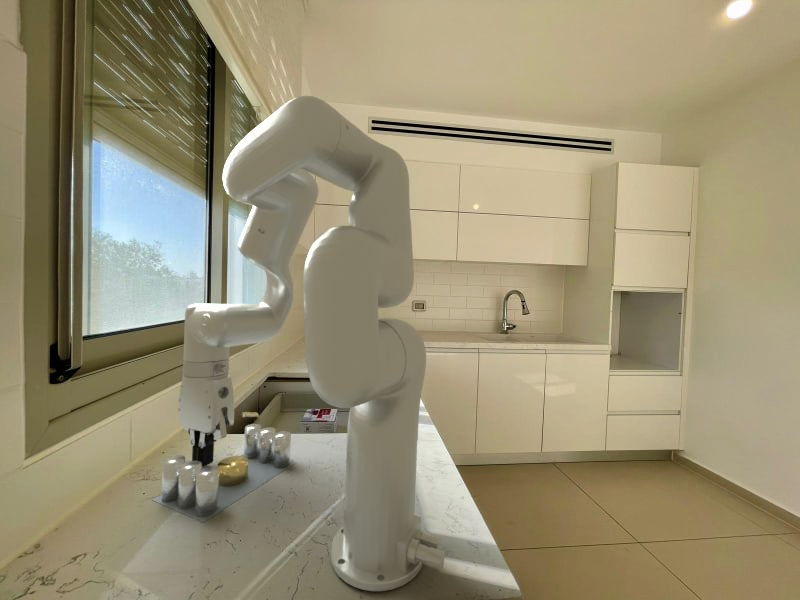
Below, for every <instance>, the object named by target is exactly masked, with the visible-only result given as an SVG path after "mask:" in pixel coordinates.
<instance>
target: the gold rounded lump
mask: <svg viewBox="0 0 800 600" xmlns="http://www.w3.org/2000/svg"><path fill="white" fill-rule="evenodd" d="M216 467H218V468H219V486H223V487H230V486H235V485H238V484H241V483H242V482H244V481H245V480H246V479H247V478H248V458H247V457H245V456H241V455H232V456H228V457H225V458H223V459H221V460H219V462H217V466H216Z"/></svg>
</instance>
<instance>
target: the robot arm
mask: <svg viewBox="0 0 800 600" xmlns="http://www.w3.org/2000/svg"><path fill="white" fill-rule="evenodd" d="M313 175H314V176H316V177H317V178H320V179H321V180H324V181H327V182H328V183H331V184H332V185H333V186H334V185H335V186H336V187H338V188H341V189H344V190H347V191H351V192H353V193H352V196H351V199H350V202H349V206H348V224H349V225H337V226H334V227H330V228H328V229H326V230H325V231H323V232H322V233H320V234H319V235H318V237H316V239H315V240H314V242H313V243H312V245H311V247H310V248H309V250H308V253H307V256H306V259H305V263H304V268H303V276H302V279H303V282H302V283H303V285H302V286H303V308H304V309H303V311H304V312H303V313H304V318H303V319H304V341H305V342H304V343H305V344H304V345H305V361H306V369H307V374H308V377H309V380H310V384H311V386H312V388H313V390H314V391H315V392H316V394H317V395H318V396H319V398H320V399H321V400H322V401H323V402H325V403H326V404H328V405H329V406H333V407H336V408H341V409H349V413H348V419H347V420H348V422H347V430H346V431H347V433H346V434H347V435H346V453H345V454H346V456H345V458H346V459H345V483H344V485H345V486H344V506H343V507H344V509H343V510H344V511H343V525H342V526H341V527H340V528H339V530H338V531H337V532H336V533H335V534H334V536H333V539H332V541H331V546H330V562H331V566H332V568H333V570H334V572H335V573H336V575H337V576H338V577H339V578H340V579H341V580H343V581H344V582H345V583H346V584H348V585H350V586H351V587H354V588H357V589H360V590H363V591H368V592H385V591H391V590H394V589H397V588H400V587H403V586H404V585H406V584H407V583H409V582H411V581H412V580H413V579H414V578H415V577H416V576H417V575H418V574H419V572H420V571H421V569H422V568H423V565H426V566H427V567H430V568H432V569H435V570H437V571H441V572H442V570H443V567H444V564H445V563H444V562H445V551H443V550H441V549H440V545H441V538H440V537H438V536H436V535H431V534H428V533H424V532H425V531H424V530H422V529H421V527H422V517H421V516H418V515H415V511H416V508H415V507H416V486H417V485H416V484H417V482H416V481H417V462H418V461H417V460H418V459H417V457H418V439H419V421H420V420H419V419H420V409H421V407H420V406H421V400H422V399H421V397H422V393H423V392H422V391H423V386H424V385H423V384H424V381H425V380H424V379H425V374H426V367H427V352H426V351H427V350H426V347H425V346H426V345H425V342H424V340H423V338H422V336H421V334H420V333H419V332H418V330H417V329H416V328H415V327H414V326H413V325H411V324H410V323H408V322H406V321H405V320H401V319H398V318H390V317H387V318H385V317H384V318H379V309H387V308H393V307H397V306H399V305H400V304H402V303H404V302H405V301H406V300H407V299H408V298H409V297H410V295H411V293H412V290H413V287H414V283H415V281H414V279H415V278H414V277H415V276H414V274H415V273H414V272H415V268H414V255H413V254H414V253H413V236H412V220H411V207H410V177H409V170H408V167H407V164H406V162H405V160H404V159H403V156H401V155H400V154H399V152H397V150H394V149H393V148H391V147H389V146H387V145H384V144H383V143H380V142H378V141H377V140H375V139H374V138H372V137H370V136H368V135H367V133H365V132H363V131H362V130H361V129H360V128H359V127H358V126H356V125H355V124H354V123H352V122H351V121H350V120H349V119H347V118H346V117H345V116H344V115H342V114H341V113H340V112H339V111H338V110H336V109H335V108H334V107H332V106H331V105H330V104H329V103H328V102H326V101H325V100H323V99H321V98H319V97H315V96H312V95H301V96H298V97H295V98H293V99H290V100H289V101H288V102H286V103H285V104H283V105H282V106H281V107H280V108H278V109H277V110H276V111H274V112H273V113H272V114H271V115H270V116H268V117H267V118H266V119H265V120H264V121H262V122H261V123H260V124H258V125H257V126H256V127H255V128H253V129H252V130H251V131H250V132H249V133H247V134H246V135H245V136H244V138H242V139H241V140H240V142H238V144H237V145H236V146H235V147H234V148H233V150H232V151H231V152H230V154H229V156H228V157H227V159H226V161H225V164H224V167H223V171H222V182H223V187H224V190H225V191H226V194H227V195H229V197H231V198H232V199H233V200H235V201H237V202H240V203H243V204H245V205H250V206H252V207H251V211H250V213H249V216H248V218H247V220H246V223H245V226H244V227H243V230H242V232H241V235H240V237H239V241H238V243H237V248H238V251H239V253H240V254H241V255H242V256H243V257H244V258H245V259H246V260H248V261H249V262H250V263H252V264H253V265H255V266H257V267H259V269H262V270H264V272H265V275H266V287H265V290H264V292H263V296H262V298H261V300H260V302H259V303H257V304H256V303H205V302H204V303H192V304H190V305H188V306H187V307H186V309H185V313H184V330H183V331H184V336H183V357H182V359H183V361H182V362H183V363H182V379H181V384H180V388H179V397H178V403H177V404H178V406H177V407H178V408H177V420H178V423H179V424H180V426H182V429H183V430H184V431H185V432H186V433H188V434H189V442H190V444H191V446H192V451H191V453H192V454H191V461H200V462H201V463H202V467H201V469H203V468H205V467H207V466H208V465H210V464H212V463H213V462H214V456H215V455H214V450H215V449H214V448H215V443H216V442H217V441H219V440H223V439H224V438H226V437H227V435H228V434H227V427H228V428H230V427H232V426H233V425H234V421H235V397H234V386H233V380H232V376H231V375H229V370H230V366H229V365H230V348H232V347H238V346H243V345H253V344H262V343H267V342H269V341H271V340H273V339H274V338H275V337H277V335H278V334H279V333H280V331H281V329H282V328H283V326H284V324H285V322H286V320H287V317H288V316H289V314H290V311H291V308H292V307H293V303H294V302H293V301H294V284H293V283H294V282H293V278H292V275H291V272H290V267H289V266H290V262H291V260H292V257H293V256H294V253H295V250H296V248H297V247H298V243H299V241H300V239H301V237H302V235H303V233H304V230H305V228H306V226H307V223H308V221H309V220H310V219H309V218H310V216H311V214H312V213H313V210H314V208H315V206H316V203H317V201H318V198H319V186H318V183H317V181H316V179H315V177H314V176H313Z"/></svg>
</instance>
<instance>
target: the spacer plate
mask: <svg viewBox="0 0 800 600" xmlns="http://www.w3.org/2000/svg"><path fill="white" fill-rule="evenodd" d="M240 456H244V453H243V454H240ZM258 458H259V456H258V457H256V458H253V459H248V478H247V479H246V480H245V481H244V482H242V483H241V484H238V485H235V486H230V487H223V486H218V509H217V511H216V512H215V513H213V514H211V515H209V516H205V517H198V516H196V515H195V507H192V508H189V509H179V508H178V500H175V501H172V502H163V501H162V500H161V497H162V494H161V495H159V496H156V497H154V498H152V499H151V501H153V502H155V503H157V504H160V505H162V506H164V507H167V508H168V509H171V510H172V511H175V512H178V513H180V514H182V515H184V516H187V517H189V518H192V519H194V520H196V521H198V522H200V523H206V522H207V521H208V520H209V519H211V518H213V517H214V516H216V515H218V514H219V513H220V512H222V511H223V510H225V509H227V508H228V507H230V506H231V505H233V504H235V503H236V502H237V501H239V500H241V499H243V498H244V497H245V496H247V495H249V494H250V493H252V492H253V491H255V490H256V489H258V488H260V487H261V486H263V485H264V484H266V483H267V482H269V481H270V480H272V479H274V478H275V477H277V476H278V475H280V474H281V473H282V472H284V471H286V470H288V469H289V468H291V467H292V466H293V465H295V464H296V463H297V461H294V460H290V464H289V466H287V467H285V468H275V467H274V460H273V461H272V462H270V463H259V462H258Z"/></svg>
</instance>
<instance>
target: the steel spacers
mask: <svg viewBox="0 0 800 600" xmlns="http://www.w3.org/2000/svg"><path fill="white" fill-rule="evenodd" d="M291 436H292V432H291V431H288V430H286V431H285V430H281V431H279V432H277V431H276V428H275V427H272V426H271V427H263V428H262V425H261V424H260V423H251V424H247V425H246V426H244V443H243V446H244V447H243V454H244V456H245V457H247V458H248V459H253V458H256V457H258V456H259V458H258V462H259V463H270V462H272V461H273V460H274V467H275V468H285V467H287V466H289V464H290V461H291V441H292V440H291V439H292V437H291ZM201 467H202V463H201V462H200V461H192V460H190V461H187V462H186V456H184V455H177V454H176V455H173V456H168V457H167V458H165V459H163V461H162V477H161V495H162V497H161V500H162V501H163V502H172V501H175V500H178V508H179V509H189V508H192V507H195V515H196V516H198V517H205V516H209V515H211V514H213V513H215V512H216V511H217V509H218V486H219V468H218V467H217V466H205V467H202V468H201Z"/></svg>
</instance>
